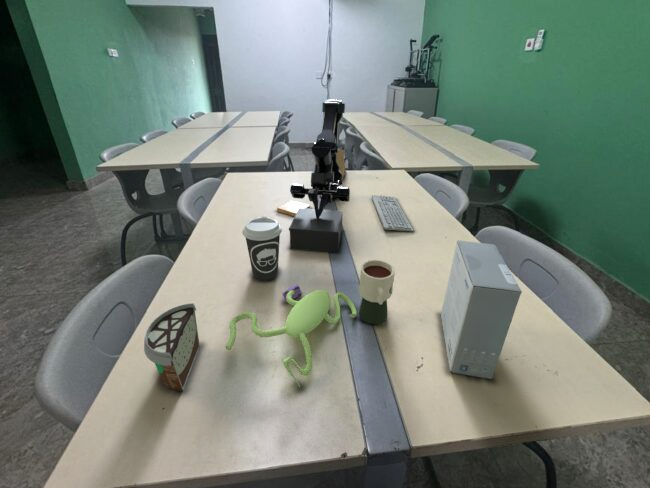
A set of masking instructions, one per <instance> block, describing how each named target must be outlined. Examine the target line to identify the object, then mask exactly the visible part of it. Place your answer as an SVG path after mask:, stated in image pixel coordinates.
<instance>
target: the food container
mask: <svg viewBox="0 0 650 488" xmlns="http://www.w3.org/2000/svg"><path fill="white" fill-rule="evenodd" d="M196 311H197V308H196V305H195V303H185V304H181V305H178V306H174V307H172V308H170V309H168V310H166V311H164V312H163V313H161V314H160V315H159V316H157V317H156V318H155V319H154V320H153V321H152V322H151V323H150V325H149V326H148V328H147V330H146V332H145V335H144V339H143V340H144V342H143V344H144V345H143V346H144V347H143V351H144V354H145V357H146V358H147V359H148V360H149V361H151V362H152V363H154V365H155V368H156V369H157V372H158V374H159V376H160V379H161V381H162V383H163V384H164V386H165V387H166V388H168V389H169V390H171V391H176V392H184V389H185V387H186V384H187V382H188V379H189V376H190V374H191V372H192V368H193V367H194V366H193V365H194V363H195V361H196V358H197V355H198V352H199V350H200V348H201V347H200V346H201V345H200V339H199V337H200V336H199V330H198V324H197V323H198V322H197V316H196Z"/></svg>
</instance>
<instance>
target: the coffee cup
mask: <svg viewBox="0 0 650 488" xmlns="http://www.w3.org/2000/svg"><path fill="white" fill-rule="evenodd" d="M282 232H283V229H282V226H281V224H280V223H279V221H278V220H277V219H276V218H274V217H271V216H258V217H254V218H250V219H249V220H247V221H246V222H245V225H244V227H243V229H242V235H243V237H244V238H245V242H246V247H247V252H248V257H249V262H250V267H251V271H252V272H251V273H252V276H253V278H254V279H255V280H256V281H259V282H260V281H261V282H268V281H271V280H273V279H275V278H276V277H277V276H278V275H279V261H280V260H279V257H280V237H281V234H282Z"/></svg>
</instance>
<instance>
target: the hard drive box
mask: <svg viewBox="0 0 650 488" xmlns="http://www.w3.org/2000/svg"><path fill="white" fill-rule="evenodd" d="M522 293H523V291H522V289H521V288H520V286H519V284H518V283H517V280H516V279H515V277H514V275H513V274H512V272H511V270H510V268H509V267H508V265H507V263H506V262H505V260H504V258H503V256H502V254H501V253H500V252H499V249H498V248H497V246H496V244H494V243H484V242H477V241H476V242H475V241H466V240H460V239H459V240H457V241H456V245H455V250H454V254H453V257H452V262H451V268H450V271H449V277H448V281H447V286H446V290H445V294H444V299H443V302H442V303H443V304H442V307H441V314H440V318H441V323H442V324H441V325H442V330H443V337H444V343H445V349H446V356H447V361H448V366H449V371H450V372H452V373H454V374H459V375H466V376H471V377H476V378H482V379H489V380H492V379H493V377H494V374H495V371H496V368H497V365H498V362H499V359H500V356H501V353H502V350H503V347H504V345H505V341H506V338H507V335H508V332H509V329H510V327H511V324H512V321H513V317H514V315H515V312H516V310H517V306H518V303H519V300H520V297H521V295H522Z"/></svg>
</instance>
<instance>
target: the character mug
mask: <svg viewBox="0 0 650 488" xmlns="http://www.w3.org/2000/svg"><path fill="white" fill-rule="evenodd" d="M395 273H396V269H395V267H394V266H393V265H392V264H390V262H388V261H385V260H382V259H369V260H367V261H364V262H363V263H362V264H361V266H360V275H359V276H360V277H359V288H358V292H359V295H360V296H361V301H360V305H359V310H358V311H359V312H358V313H359V315H358V316H359V318H360V319H361V320H362V321H363V322H365V323H368V324H370V325H371V324H372V325H382V324H383V323H385V322H386V321H387V319H388V300H389V299H390V298H391V297H392V295H393V289H394V282H395V275H396V274H395Z"/></svg>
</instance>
